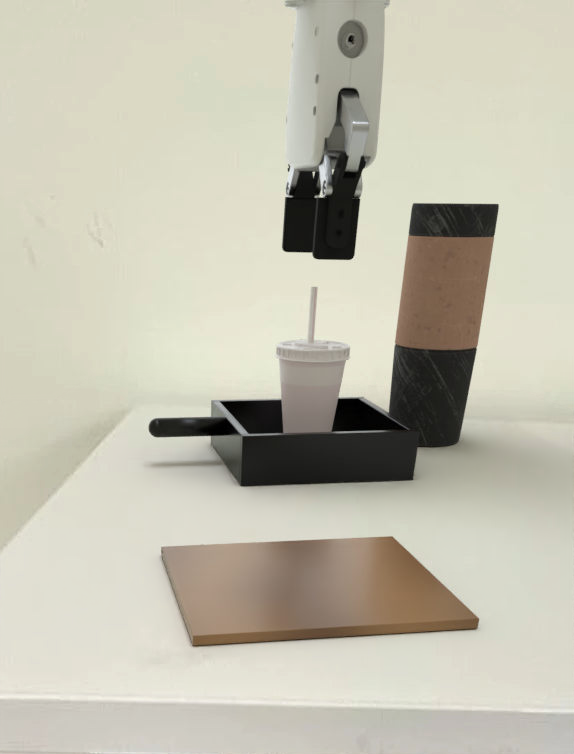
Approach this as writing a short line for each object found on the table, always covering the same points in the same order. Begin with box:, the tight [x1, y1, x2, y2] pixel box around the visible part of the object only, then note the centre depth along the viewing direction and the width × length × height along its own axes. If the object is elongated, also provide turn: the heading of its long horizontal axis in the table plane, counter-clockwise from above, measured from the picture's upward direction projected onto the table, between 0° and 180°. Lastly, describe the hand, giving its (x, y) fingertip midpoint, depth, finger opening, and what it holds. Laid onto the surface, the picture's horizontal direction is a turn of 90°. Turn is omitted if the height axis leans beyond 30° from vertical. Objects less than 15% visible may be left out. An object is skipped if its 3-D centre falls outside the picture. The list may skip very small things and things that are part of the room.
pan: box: [147, 396, 420, 487], centre depth 77 cm, size 22×15×4 cm
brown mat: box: [160, 535, 480, 647], centre depth 53 cm, size 16×14×1 cm
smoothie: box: [275, 286, 351, 433], centre depth 75 cm, size 6×6×14 cm
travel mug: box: [388, 202, 500, 448], centre depth 81 cm, size 8×8×20 cm
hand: (315, 255), depth 70 cm, fingers open, 9 cm apart
